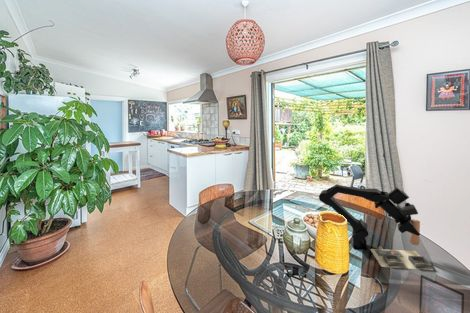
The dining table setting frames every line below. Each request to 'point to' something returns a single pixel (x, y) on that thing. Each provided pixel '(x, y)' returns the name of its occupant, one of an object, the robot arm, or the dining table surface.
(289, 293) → the dining table surface
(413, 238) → the terracotta pin
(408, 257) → the pin board
